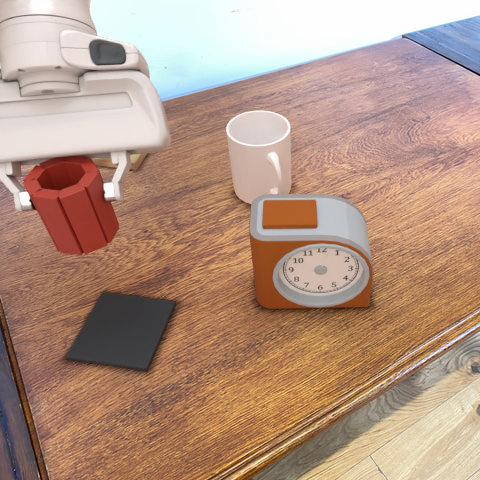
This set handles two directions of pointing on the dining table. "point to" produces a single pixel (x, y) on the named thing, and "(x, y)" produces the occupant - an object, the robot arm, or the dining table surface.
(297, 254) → the alarm clock
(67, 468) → the dining table surface
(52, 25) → the robot arm
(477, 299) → the dining table surface
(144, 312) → the mat
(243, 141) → the mug
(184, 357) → the dining table surface
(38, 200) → the ring sleeve
